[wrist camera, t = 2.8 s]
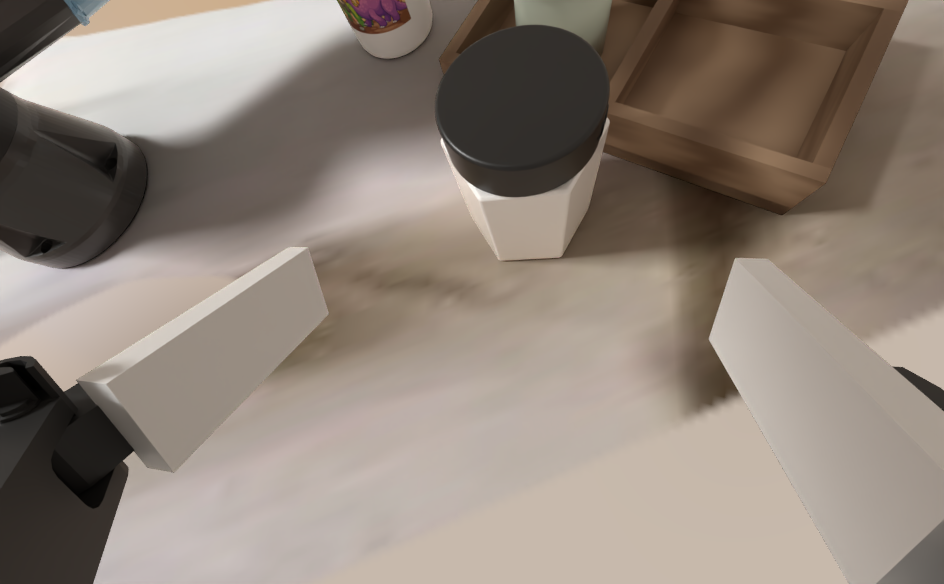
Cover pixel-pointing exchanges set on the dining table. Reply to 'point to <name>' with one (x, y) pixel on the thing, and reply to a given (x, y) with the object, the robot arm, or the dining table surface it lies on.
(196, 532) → the dining table surface
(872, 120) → the dining table surface
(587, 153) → the jar
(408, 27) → the milk bottle
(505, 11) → the caddy
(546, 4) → the sugar pot
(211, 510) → the dining table surface
